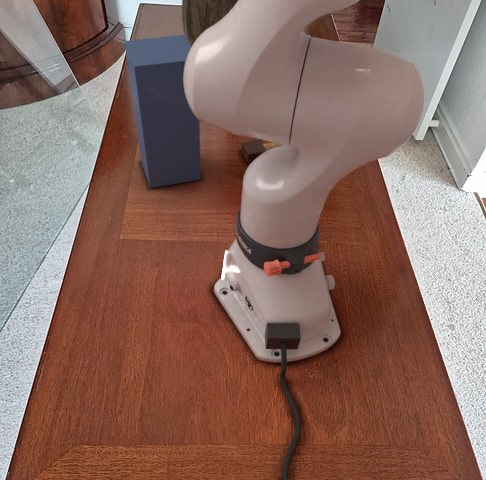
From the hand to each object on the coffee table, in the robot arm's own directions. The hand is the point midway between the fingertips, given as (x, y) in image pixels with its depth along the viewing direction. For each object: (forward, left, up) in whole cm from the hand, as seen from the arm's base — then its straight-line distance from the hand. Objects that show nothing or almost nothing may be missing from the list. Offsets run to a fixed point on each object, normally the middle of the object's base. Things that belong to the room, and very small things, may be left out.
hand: (303, 10), depth 80 cm
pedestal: (-5, +26, -26) cm, 37 cm away
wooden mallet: (-5, +2, -26) cm, 26 cm away
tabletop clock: (+36, +5, -26) cm, 45 cm away
